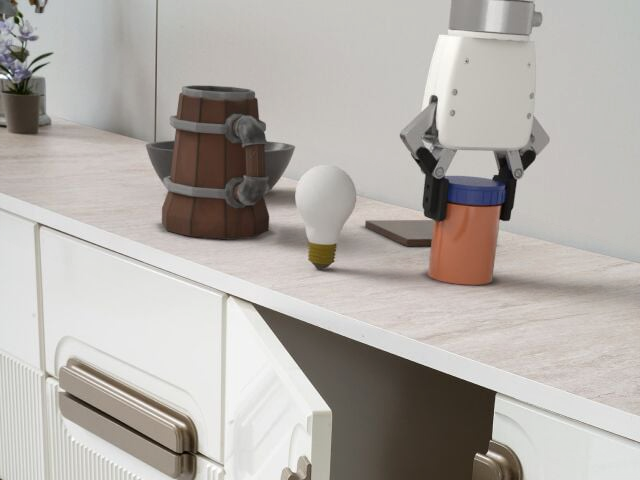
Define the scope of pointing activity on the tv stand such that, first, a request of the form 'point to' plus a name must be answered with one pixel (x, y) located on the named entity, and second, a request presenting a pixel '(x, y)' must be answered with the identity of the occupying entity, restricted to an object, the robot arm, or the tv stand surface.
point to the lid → (475, 190)
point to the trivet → (404, 230)
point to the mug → (217, 165)
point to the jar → (465, 244)
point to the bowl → (274, 159)
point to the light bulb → (324, 210)
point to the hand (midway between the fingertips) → (466, 217)
